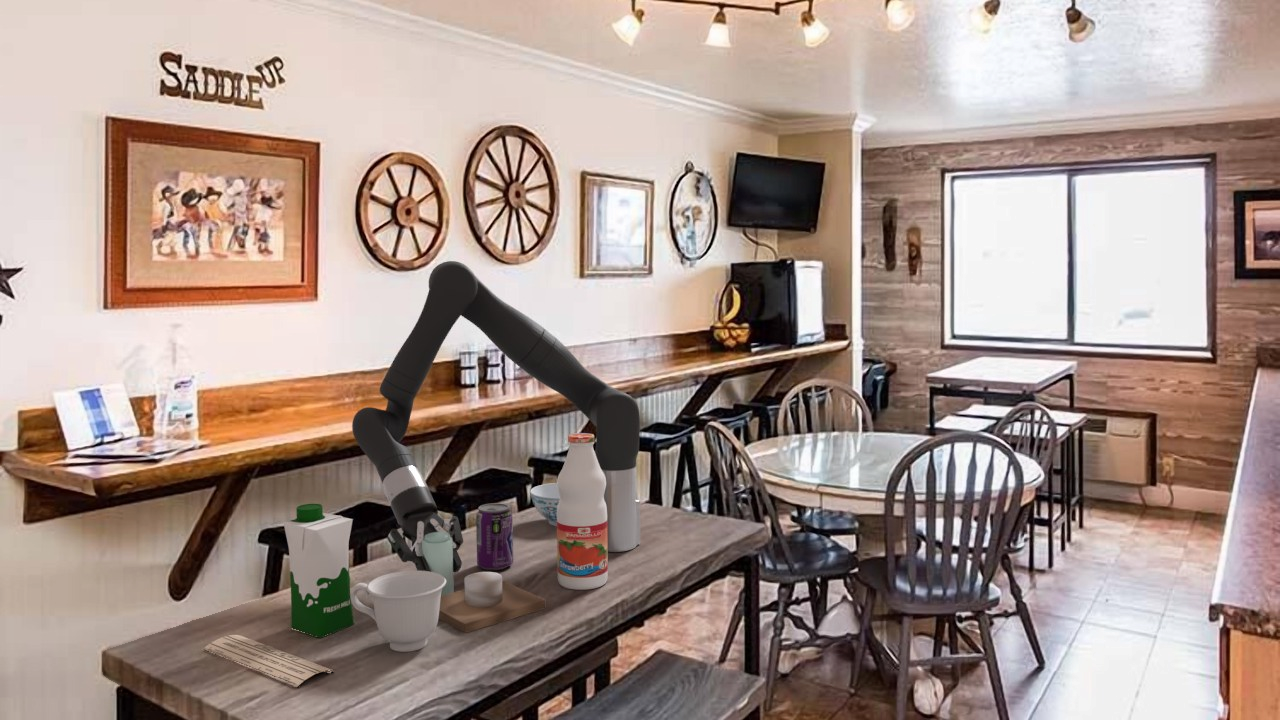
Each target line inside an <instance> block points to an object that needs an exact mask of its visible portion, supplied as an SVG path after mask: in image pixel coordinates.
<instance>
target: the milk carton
mask: <svg viewBox="0 0 1280 720" xmlns="http://www.w3.org/2000/svg"><path fill="white" fill-rule="evenodd" d="M353 520H354V518H349V517H345V516H342V515H340V514H339V515H336V514H332V513H326V512H323V505H322V504H321V503H307V504H301V505H298V506H297V507H296V518H295V519H292V520H289V521H286V522H284V523H283V527H284V532H285V537H286V541H287V546H288V553H289V555H288V556H289V575H290V576H289V579H290V580H289V581H290V598H291V599H290V601H291V607H290V608H291V609H290V614H291V615H290V617H291V618H290V619H291V620H290V623H291V624H290V625H291V626H290V629H291V628H293V629H296V630H299V631H302V632H305V633H308V634H311V635H313V636H312V637H314V636H317V637H322V638H324V637H326V636H325V635H327V634H329V635H331V634H333V632H334V633H336V632H338V631H337V630H339V631H340V629H341V630H343V629H346V628H347V627H351V626H353V625H355V622H354V621H355V620H354V614H353V604H352V602H351V599H350V594H351V577H350V556H349V555H350V554H349V551H350V550H349V545H350V544H349V543H350V542H349V541H350V536H351V533H352V532H351V531H352V526H353ZM350 625H351V626H350ZM345 627H346V628H345ZM342 628H343V629H342ZM335 631H336V632H335ZM330 633H331V634H330ZM311 635H310V636H311ZM323 636H324V637H323ZM327 636H328V635H327ZM317 637H316V638H317Z"/></svg>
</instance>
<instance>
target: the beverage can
mask: <svg viewBox="0 0 1280 720" xmlns="http://www.w3.org/2000/svg"><path fill="white" fill-rule="evenodd" d="M475 522H476V523H475V525H476V527H475V528H476V529H475V530H476V531H475V533H476V564H477V566H478V567H480V568H482V569H484V570H486V571H500V569H501V570H504V569H506V568H508V567H509V566H511V565H513V564H514V535H513V534H514V532H513V530H514V526H513V525H514V523H513V513H512V512H511V506H510V505H509V504H507V503H501V502H497V503H496V502H494V503H493V502H492V503H485V504H481V505H480V506H478V511H477V514H476V516H475Z"/></svg>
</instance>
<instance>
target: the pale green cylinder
mask: <svg viewBox="0 0 1280 720" xmlns="http://www.w3.org/2000/svg"><path fill="white" fill-rule="evenodd" d="M446 532H447V531H446ZM446 532H434V533H429V534H426V535H425V538H424V539H423V540H422V550H423V554H422V556H424V557H425V559H426V561H427V563H428V565H429V568H430V570H431V572H434V573H438V574H440V575H442V576H443V577H444V578H445V579H446V584H445V585H444V586H443V588H442V591H441V596H442V595H446V594H450V593H453V592H455V588H454V587H455V586H454V581H455V580H454V579H455V578H454V572H453V540H452V537H450V533H449V532H447V533H446Z"/></svg>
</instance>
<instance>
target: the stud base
mask: <svg viewBox="0 0 1280 720" xmlns="http://www.w3.org/2000/svg"><path fill="white" fill-rule="evenodd" d="M544 609H546V599H545V598H542V597H541V596H538V595H536V594H533V593H531V592H529V591H527V590H524V589H522V588H520V587H517V586H515V585H513V584H511V583H509V582H507V581H504V580H503V576H502V574H500V573H499V572H493V571H480V572H479V571H478V572H473V573H470V574H468V575H466V576H465V577H464V589H461V590H458V591H454V592H453V593H450V594H446V595H442V596H441V598H440V609H439V617H438V620H441V621H443V622H445V623H446V624H448V625H450V626H452V627H454V628H455V629H458V630H459V631H461V632H462V633H464V634H465V633H469V632H472V631H476V630H479V629H483V628H486V627H490V626H492V625H495V624H498V623H501V622H505V621H508V620H512V619H515V618H517V617H522V616H524V615H528V614H532V613H535V612H537V611H541V610H544Z"/></svg>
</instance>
